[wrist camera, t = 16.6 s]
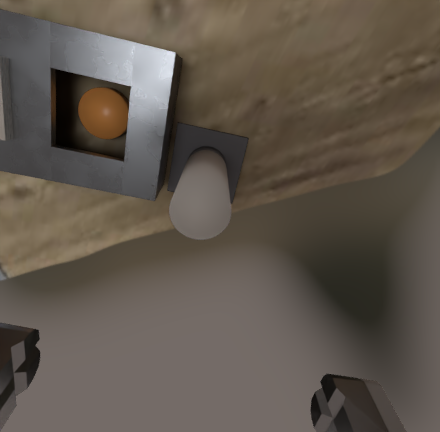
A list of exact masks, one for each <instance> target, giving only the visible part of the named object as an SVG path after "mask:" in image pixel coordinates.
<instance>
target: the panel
mask: <svg viewBox="0 0 440 432" xmlns="http://www.w3.org/2000/svg"><path fill="white" fill-rule="evenodd" d="M182 59H183V58H181V57H180V56H179V55H178V54H177V53H175V52H171V51H167V50H163V49H159V48H155V47H151V46H147V45H143V44H139V43H135V42H131V41H127V40H123V39H119V38H115V37H111V36H106V35H102V34H98V33H94V32H90V31H86V30H82V29H78V28H74V27H70V26H66V25H62V24H58V23H54V22H50V21H46V20H42V19H38V18H34V17H30V16H26V15H21V14H17V13H13V12H9V11H5V10H1V9H0V171H4V172H10V173H15V174H20V175H25V176H30V177H35V178H40V179H45V180H50V181H55V182H61V183H66V184H71V185H76V186H81V187H86V188H91V189H96V190H101V191H106V192H111V193H117V194H122V195H127V196H132V197H137V198H142V199H147V200H152V201H155V200H156V198H157V196H158V194H159V192H160V190H161V189H162V187H163V185H164V180H165V173H166V166H167V160H168V153H169V146H170V139H171V133H172V126H173V119H174V113H175V106H176V99H177V92H178V86H179V79H180V72H181V66H182ZM56 69H58V70H63V71H67V72H71V73H76V74H80V75H84V76H88V77H93V78H97V79H101V80H106V81H110V82H114V83H119V84H123V85H127V86H131V91H130V102H129V113H128V124H127V135H126V146H125V157H124V159H121V158H117V157H112V156H107V155H102V154H97V153H92V152H88V151H83V150H78V149H73V148H68V147H64V146H59V145H56Z"/></svg>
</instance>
